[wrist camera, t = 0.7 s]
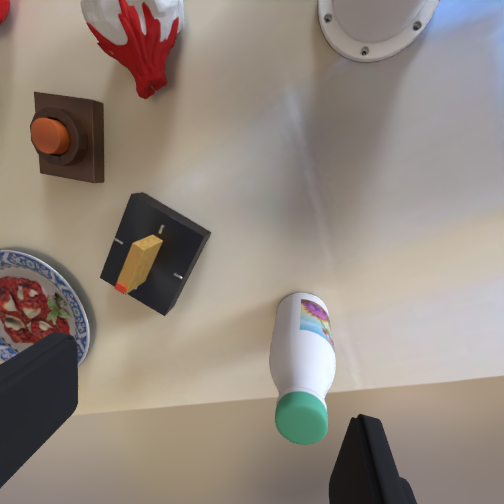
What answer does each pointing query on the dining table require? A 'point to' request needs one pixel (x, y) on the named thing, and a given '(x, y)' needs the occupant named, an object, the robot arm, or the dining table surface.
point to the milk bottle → (302, 367)
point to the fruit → (4, 9)
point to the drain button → (50, 136)
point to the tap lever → (138, 263)
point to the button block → (74, 137)
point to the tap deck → (168, 257)
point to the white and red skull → (137, 35)
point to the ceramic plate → (36, 305)
